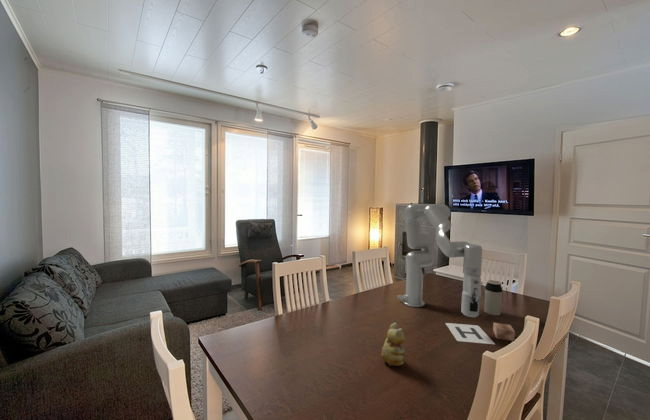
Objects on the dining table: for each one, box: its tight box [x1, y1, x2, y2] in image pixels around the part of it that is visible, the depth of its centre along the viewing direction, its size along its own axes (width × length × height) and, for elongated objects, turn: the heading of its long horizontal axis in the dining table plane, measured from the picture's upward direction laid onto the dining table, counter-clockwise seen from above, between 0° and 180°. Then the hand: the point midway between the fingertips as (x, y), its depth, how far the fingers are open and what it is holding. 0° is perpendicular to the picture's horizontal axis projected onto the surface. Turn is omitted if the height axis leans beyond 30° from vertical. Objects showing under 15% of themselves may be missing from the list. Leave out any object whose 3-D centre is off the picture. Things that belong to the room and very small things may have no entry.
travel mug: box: [483, 279, 503, 317], centre depth 157 cm, size 8×8×18 cm
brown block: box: [492, 322, 516, 342], centre depth 131 cm, size 7×7×5 cm
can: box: [460, 289, 481, 318], centre depth 132 cm, size 8×8×12 cm
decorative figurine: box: [381, 322, 406, 367], centre depth 108 cm, size 10×8×15 cm
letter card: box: [445, 322, 496, 345], centre depth 133 cm, size 16×18×1 cm
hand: (470, 307), depth 132 cm, fingers closed on can, 7 cm apart
